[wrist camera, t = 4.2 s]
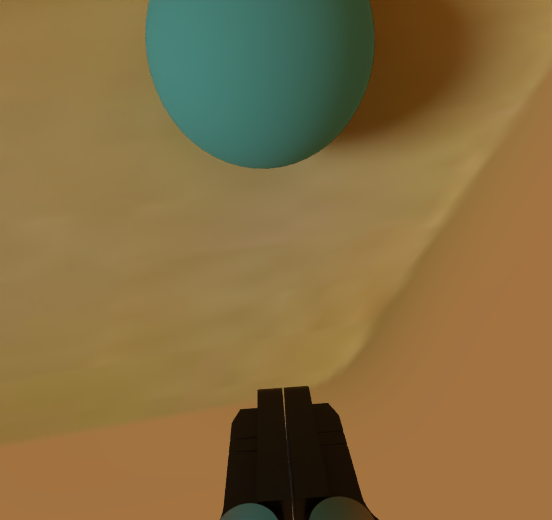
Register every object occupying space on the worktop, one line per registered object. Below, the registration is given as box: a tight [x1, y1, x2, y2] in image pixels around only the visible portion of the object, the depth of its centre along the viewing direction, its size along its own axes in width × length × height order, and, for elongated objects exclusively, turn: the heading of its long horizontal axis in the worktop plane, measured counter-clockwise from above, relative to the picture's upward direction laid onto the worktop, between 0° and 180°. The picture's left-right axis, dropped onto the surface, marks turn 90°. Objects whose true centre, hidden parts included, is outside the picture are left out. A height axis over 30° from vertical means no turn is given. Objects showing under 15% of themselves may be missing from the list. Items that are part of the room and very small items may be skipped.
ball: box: [145, 0, 375, 169], centre depth 10 cm, size 6×6×6 cm
